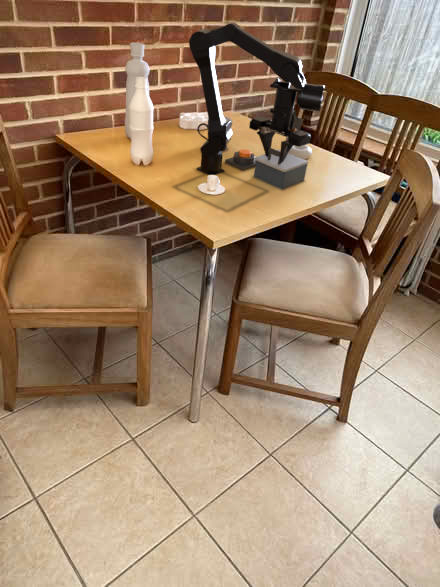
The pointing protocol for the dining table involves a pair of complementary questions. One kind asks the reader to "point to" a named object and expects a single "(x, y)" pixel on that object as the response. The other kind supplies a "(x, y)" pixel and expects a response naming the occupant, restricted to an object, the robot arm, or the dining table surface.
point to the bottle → (134, 78)
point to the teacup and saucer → (211, 185)
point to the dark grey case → (279, 175)
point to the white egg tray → (193, 120)
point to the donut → (301, 151)
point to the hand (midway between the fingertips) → (274, 159)
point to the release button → (245, 153)
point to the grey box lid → (274, 160)
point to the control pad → (241, 161)
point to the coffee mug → (208, 124)
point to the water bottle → (141, 124)
